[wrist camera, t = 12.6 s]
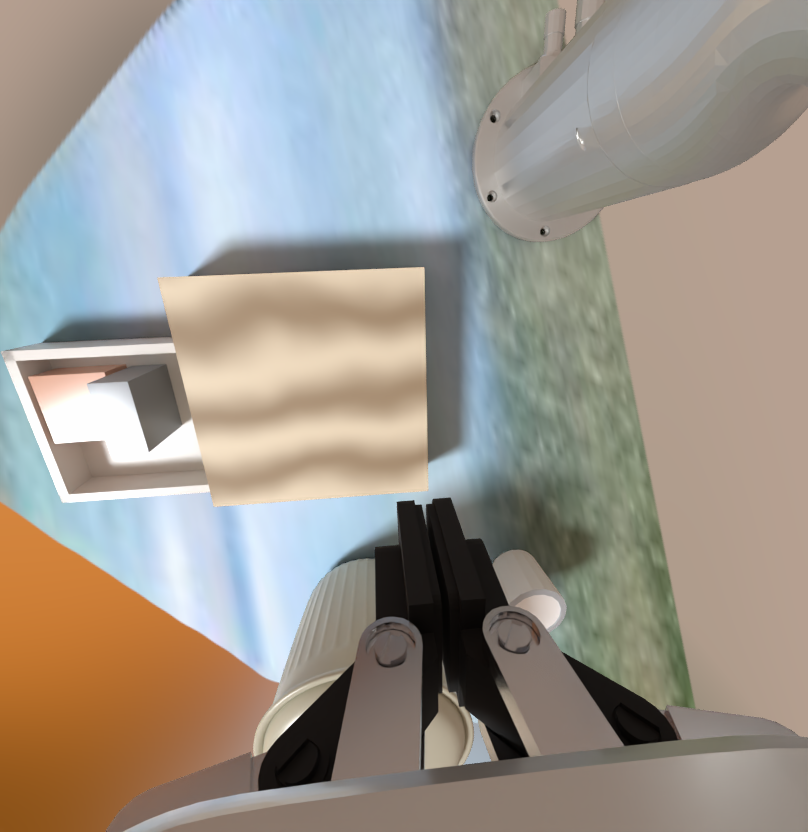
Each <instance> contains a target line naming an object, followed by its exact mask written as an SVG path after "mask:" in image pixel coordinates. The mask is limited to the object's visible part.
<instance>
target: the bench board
mask: <svg viewBox="0 0 808 832" xmlns="http://www.w3.org/2000/svg"><path fill="white" fill-rule="evenodd" d="M158 282H159V286H160V291H161V295H162V299H163V303H164V307H165V311H166V315H167V319H168V323H169V327H170V331H171V335H172V339H173V343H174V347H175V351H176V355H177V359H178V363H179V367H180V372H181V376H182V380H183V384H184V388H185V392H186V396H187V400H188V404H189V408H190V412H191V416H192V420H193V424H194V428H195V432H196V436H197V440H198V444H199V448H200V452H201V457H202V461H203V465H204V469H205V473H206V477H207V481H208V485H209V489H210V493H211V497H212V501H213V505H214V507H218V506H231V505H245V504H258V503H272V502H285V501H298V500H312V499H325V498H339V497H352V496H365V495H379V494H392V493H405V492H419V491H428V445H427V388H426V331H425V274H424V267H412V268H387V269H362V270H337V271H311V272H286V273H261V274H236V275H211V276H186V277H160V278H158Z"/></svg>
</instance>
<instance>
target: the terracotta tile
mask: <svg viewBox="0 0 808 832" xmlns="http://www.w3.org/2000/svg"><path fill="white" fill-rule="evenodd" d="M125 368H127V366H126V364H118V365H102V366H85V367H69V368H55V369H52V370H49V371H45V372H42V373H39V374H36V375H32V376H29V377H28V378H29V380H30V383H31V385H32V388H33V390H34V393H35V395H36V398H37V400H38V403H39V405H40V408H41V410H42V413H43V415H44V418H45V420H46V423H47V425H48V428H49V430H50V433H51V435H52V438H53V440H54V443H69V442H83V441H97V440H105V437H104V434H103V431H102V428H101V425H100V422H99V419H98V416H97V413H96V410H95V408H94V405H93V402H92V399H91V396H90V393H89V390H88V387H87V383H90V382H92V381H95V380H98V379H100V378H103V377H105V376H108V375H110V374H113V373H115V372H118V371H120V370H123V369H125Z"/></svg>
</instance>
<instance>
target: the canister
mask: <svg viewBox="0 0 808 832" xmlns="http://www.w3.org/2000/svg"><path fill="white" fill-rule="evenodd" d="M374 621H376V605H375V558H374V559H369V558H366V559H358V560H354V561H352V560H351V561H349V562H347V563H343V564H341V565H340V566H339V567H335V568H334V569H333V570H332V571H331V572H329V573H327V574H326V575H325V577H324V578H322V579H321V580H320V582H319V583H318V585H317V586H316V587H315V589H314V590H313V592H312V594H311V597H310V599H309V601H308V603H307V606H306V608H305V611H304V614H303V616H302V619H301V622H300V625H299V627H298V630H297V633H296V636H295V639H294V642H293V645H292V647H291V650H290V654H289V657H288V660H287V663H286V666H285V669H284V672H283V674H282V677H281V680H280V683H279V686H278V689H277V692H276V696H275V699H274V702H273V704H272V706H271V707H270V708H269V709H268V711H267V712H266V713H265V715H264V716H263V718H262V719H261V721H260V723H259V725H258V728H257V730H256V734H255V738H254V745H253V749H254V750H253V751H254V756H257V755H260V754H262V753H265V752H267V751H268V750H269V748H270V747H271V746H272V745H273V743H274V742H275V741H276V740H277V739H278V738H279V737H280V736H281V735H282V734H283V733H284V732H285V731H286V730H287V729H288V728H289V727H290V726H291V725H292V724H293V723H294V722H295V721H296V720H297V719H298V718H299V717H300V716H301V715H302V714H303V713H304V712H305V711H306V710H307V709H308V708H309V707H310V706H311V705H312V704H313V703H314V702H315V701H316V700H317V699H318V698H319V697H320V696H321V695H322V694H323V693H324V692H325V691H326V690H327V689H328V688H329V687H330V686H331V685H332V684H333V683H334V682H335V681H336V680H337V679H338V678H339V677H340V676H341V675H342V674H343V673H344V672H345V671H346V670H347V669H348V668H349V667H350V666H351V665H352V664H353V663H354V662H355V658H356V653H357V648H358V643H359V640H360V638H361V635H362V633H363V632H364V630H365V629H366V628H367V627H368V626H369V625H370V624H372V623H373V622H374ZM442 688H443V691H442V693H441V694H438V713H437V715H436V716H435V718H434V719H433V720H432V722H431V723H430V725H429V726H428V727H427V729H426V730H425V769H433V768H441V767H450V766H458V765H463V764H464V763H465V761H466V759H467V757H468V755H469V753H470V751H471V748H472V744H473V739H474V727H473V722H472V718H471V715H470V713H469V712H468V711H467V710H466V709H465V707H459V704H458V699H457V694H456V692H450V693H449V691H448V687H447V682H446V677H445V671H444V666H443V660H442Z"/></svg>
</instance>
